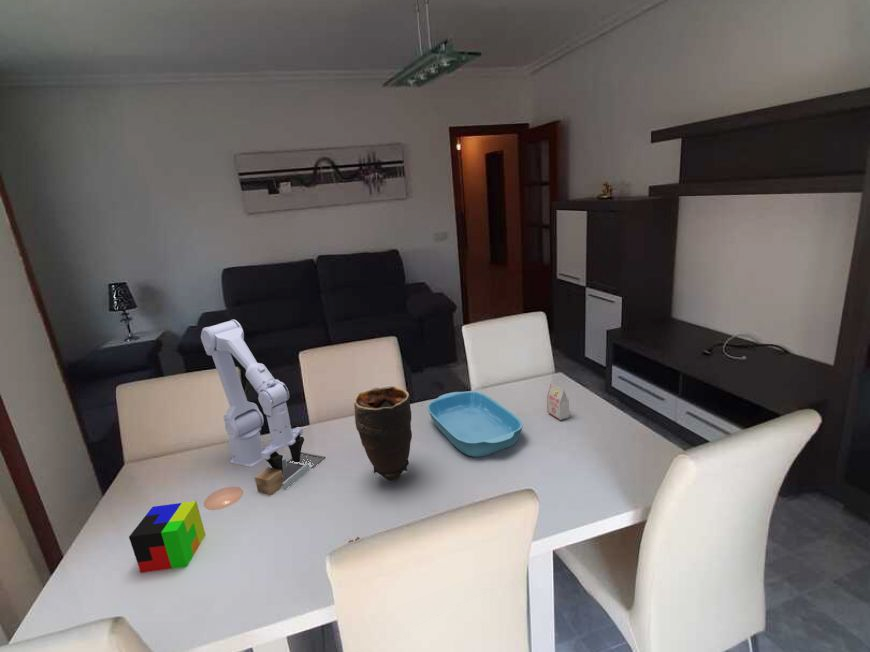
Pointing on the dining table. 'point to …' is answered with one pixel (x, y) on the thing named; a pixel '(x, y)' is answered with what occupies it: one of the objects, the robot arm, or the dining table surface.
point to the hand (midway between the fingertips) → (288, 468)
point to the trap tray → (313, 459)
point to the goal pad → (223, 498)
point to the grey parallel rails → (295, 475)
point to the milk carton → (557, 402)
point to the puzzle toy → (167, 536)
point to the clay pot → (385, 428)
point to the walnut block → (269, 481)
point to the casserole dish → (475, 422)
